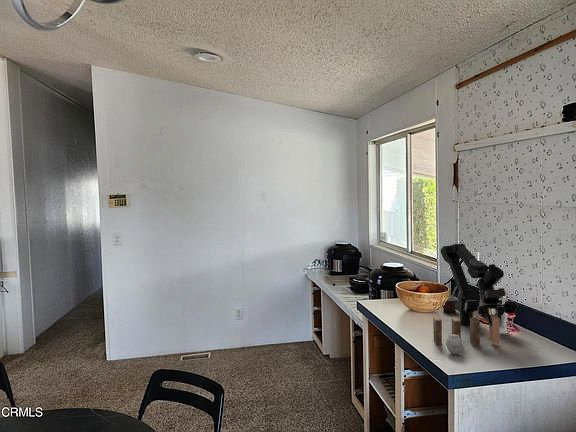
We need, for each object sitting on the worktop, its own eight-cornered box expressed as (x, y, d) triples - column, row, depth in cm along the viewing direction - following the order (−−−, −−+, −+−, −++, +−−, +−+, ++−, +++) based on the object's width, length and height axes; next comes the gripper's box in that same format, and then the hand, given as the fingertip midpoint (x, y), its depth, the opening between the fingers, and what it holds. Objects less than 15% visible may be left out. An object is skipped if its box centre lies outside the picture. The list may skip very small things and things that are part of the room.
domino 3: (473, 346, 153) (473, 321, 153) (470, 342, 158) (470, 317, 158) (480, 347, 153) (479, 321, 152) (476, 342, 158) (476, 317, 157)
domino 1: (435, 344, 156) (435, 320, 156) (433, 340, 161) (433, 316, 161) (441, 345, 156) (441, 320, 155) (439, 340, 161) (439, 316, 160)
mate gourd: (440, 310, 202) (439, 281, 202) (455, 309, 202) (455, 280, 201) (445, 314, 195) (445, 284, 194) (461, 314, 195) (461, 284, 194)
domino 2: (454, 345, 155) (454, 320, 154) (451, 341, 160) (451, 316, 159) (460, 346, 154) (460, 321, 154) (458, 341, 159) (457, 317, 159)
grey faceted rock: (461, 350, 150) (461, 332, 150) (465, 357, 143) (465, 339, 143) (444, 349, 152) (444, 331, 151) (447, 356, 145) (447, 338, 144)
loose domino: (492, 343, 152) (492, 318, 151) (489, 339, 157) (489, 314, 156) (499, 344, 151) (499, 318, 151) (495, 339, 156) (495, 314, 156)
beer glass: (506, 330, 171) (506, 295, 170) (509, 335, 164) (509, 300, 163) (488, 328, 173) (488, 295, 172) (491, 334, 166) (491, 299, 166)
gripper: (466, 280, 159) (473, 315, 149) (516, 280, 155) (527, 317, 145) (461, 294, 167) (468, 328, 157) (509, 295, 163) (519, 330, 153)
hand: (495, 326), depth 152 cm, fingers closed on loose domino, 2 cm apart
